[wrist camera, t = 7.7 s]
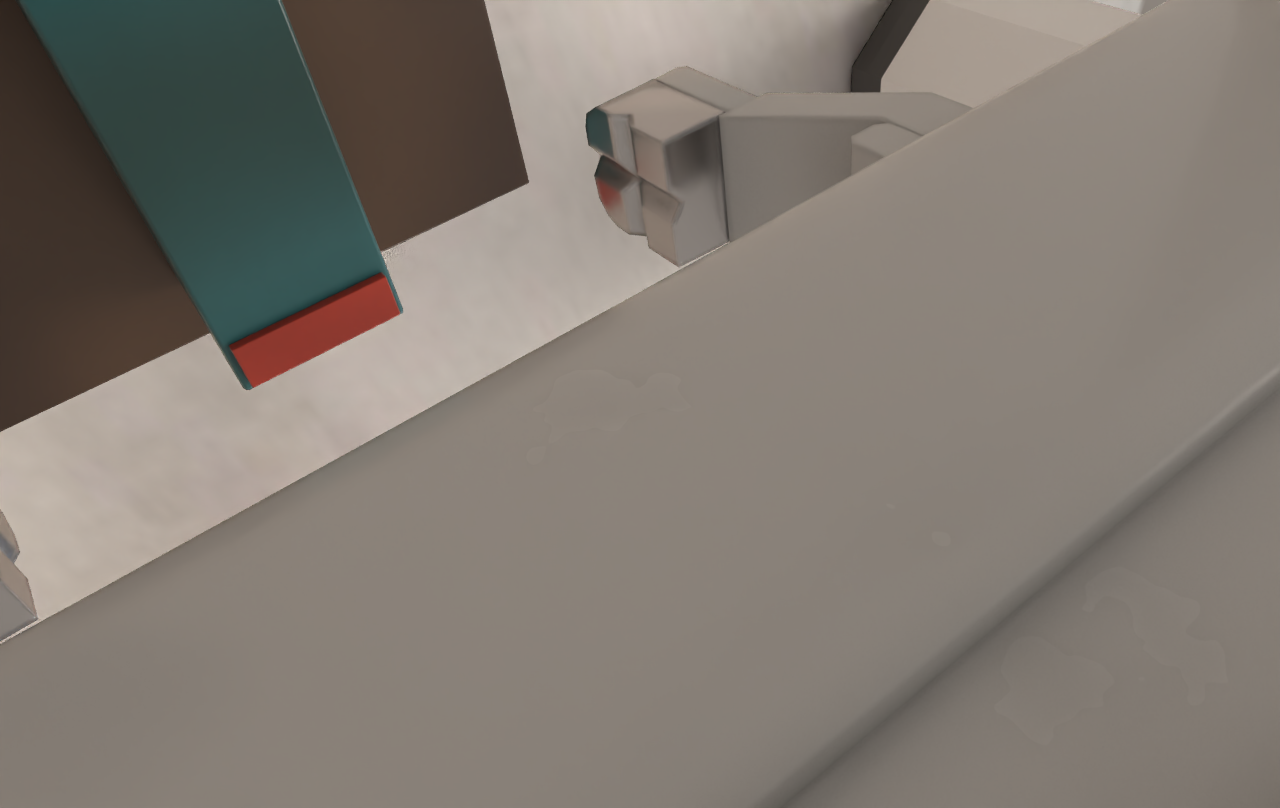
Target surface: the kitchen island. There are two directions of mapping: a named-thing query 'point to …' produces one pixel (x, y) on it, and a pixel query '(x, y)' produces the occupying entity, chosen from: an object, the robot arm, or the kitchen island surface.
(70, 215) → the brown wooden base board
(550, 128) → the kitchen island surface
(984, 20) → the wine bottle
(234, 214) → the teal rectangular block
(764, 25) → the kitchen island surface
